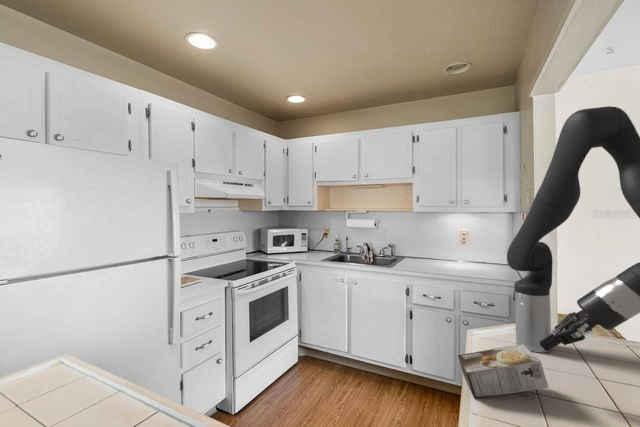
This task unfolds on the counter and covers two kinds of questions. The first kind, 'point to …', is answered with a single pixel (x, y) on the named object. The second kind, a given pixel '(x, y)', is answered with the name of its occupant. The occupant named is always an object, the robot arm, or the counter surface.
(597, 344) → the counter surface
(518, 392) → the mat
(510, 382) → the coffee box
